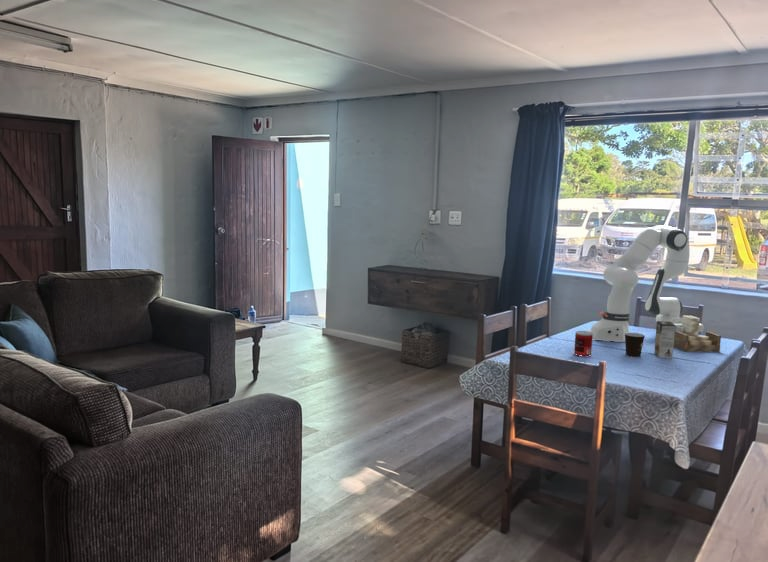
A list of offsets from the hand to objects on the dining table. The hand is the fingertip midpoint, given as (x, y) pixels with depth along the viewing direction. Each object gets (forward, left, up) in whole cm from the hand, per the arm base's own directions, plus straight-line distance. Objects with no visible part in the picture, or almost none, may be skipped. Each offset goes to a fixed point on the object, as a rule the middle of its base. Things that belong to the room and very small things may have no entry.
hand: (689, 330), depth 295 cm
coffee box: (-24, -22, -8) cm, 34 cm away
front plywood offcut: (0, -10, -8) cm, 13 cm away
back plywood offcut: (0, -7, -8) cm, 11 cm away
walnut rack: (0, -7, -8) cm, 11 cm away
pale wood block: (0, 0, -8) cm, 8 cm away
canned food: (-63, -23, -8) cm, 68 cm away
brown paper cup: (-37, -21, -8) cm, 43 cm away
